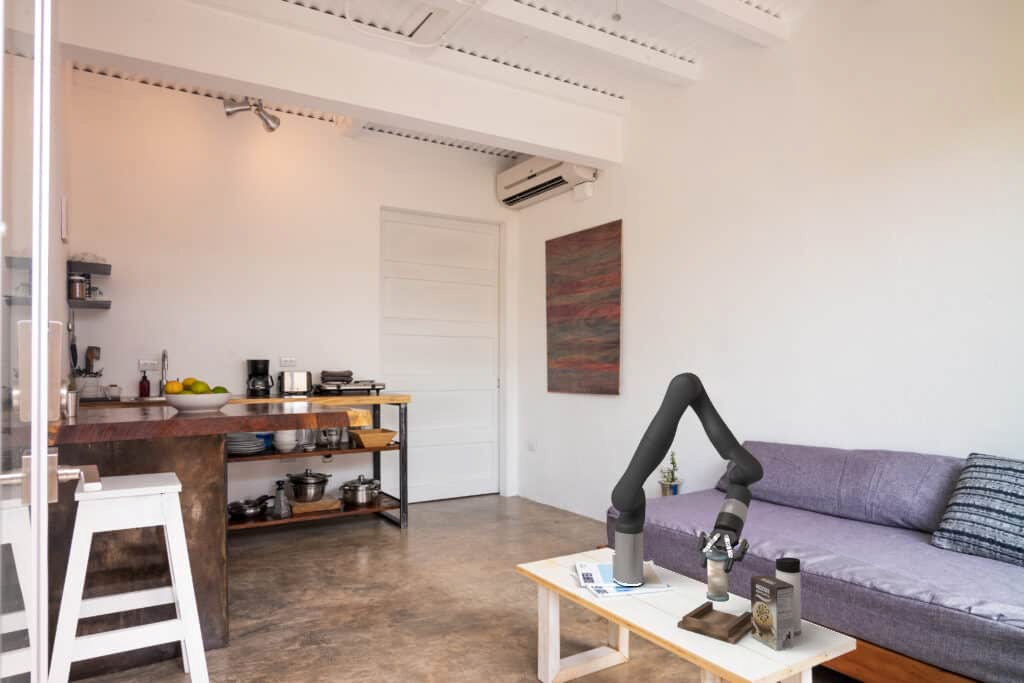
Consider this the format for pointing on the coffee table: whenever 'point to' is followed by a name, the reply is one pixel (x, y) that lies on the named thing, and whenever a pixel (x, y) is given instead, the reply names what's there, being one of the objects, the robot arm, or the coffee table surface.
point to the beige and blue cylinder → (717, 576)
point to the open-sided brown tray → (716, 623)
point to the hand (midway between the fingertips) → (714, 569)
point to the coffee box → (772, 612)
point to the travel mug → (791, 574)
